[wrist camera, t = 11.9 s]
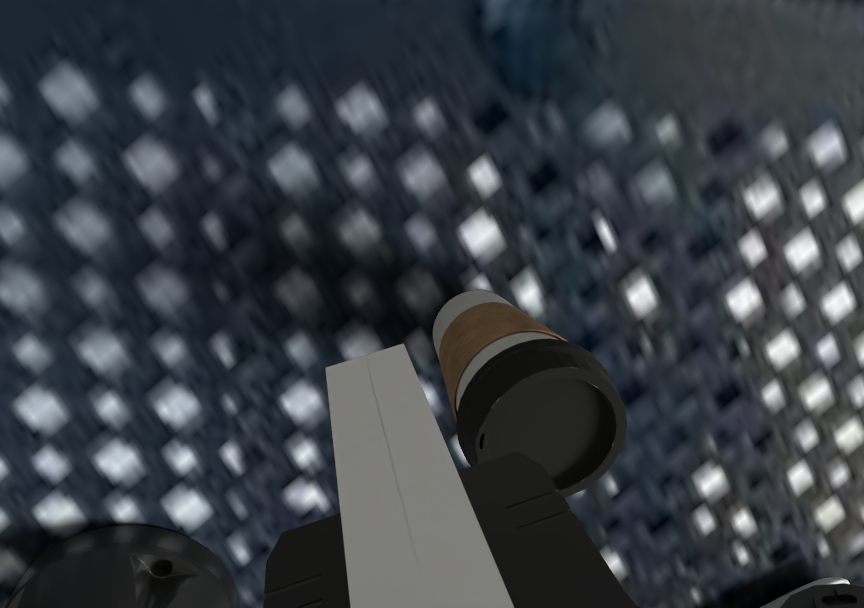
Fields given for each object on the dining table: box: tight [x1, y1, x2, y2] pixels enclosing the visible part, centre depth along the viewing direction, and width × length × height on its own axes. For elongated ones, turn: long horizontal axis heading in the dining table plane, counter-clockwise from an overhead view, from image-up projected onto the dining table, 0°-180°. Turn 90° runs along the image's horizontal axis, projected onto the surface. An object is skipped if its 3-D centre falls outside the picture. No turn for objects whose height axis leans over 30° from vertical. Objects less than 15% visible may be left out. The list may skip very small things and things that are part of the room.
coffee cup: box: [433, 290, 627, 498], centre depth 38 cm, size 8×8×15 cm
